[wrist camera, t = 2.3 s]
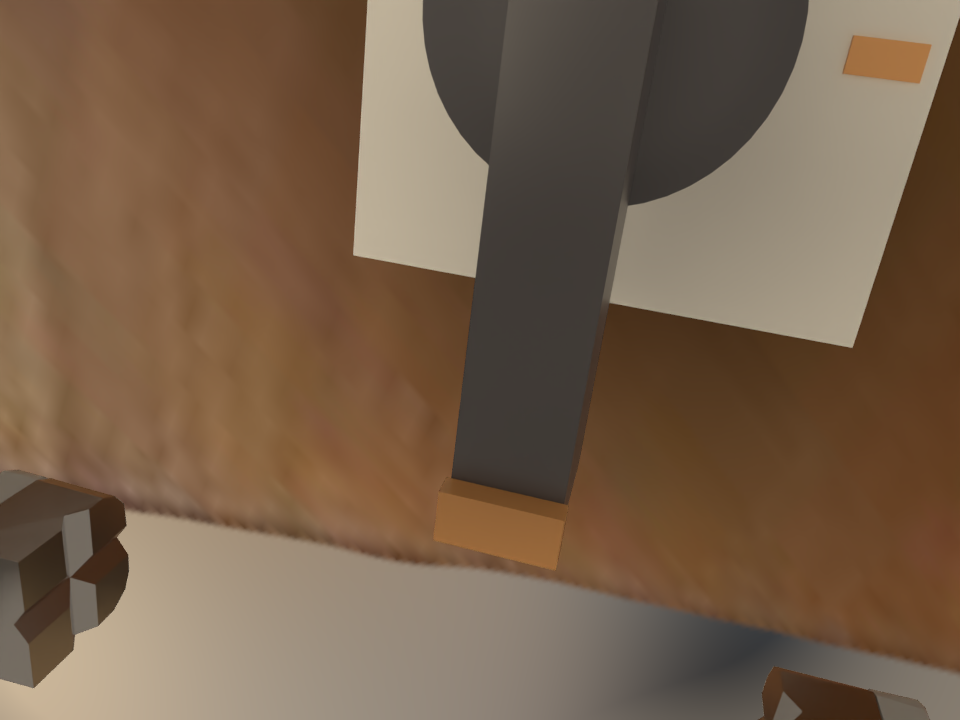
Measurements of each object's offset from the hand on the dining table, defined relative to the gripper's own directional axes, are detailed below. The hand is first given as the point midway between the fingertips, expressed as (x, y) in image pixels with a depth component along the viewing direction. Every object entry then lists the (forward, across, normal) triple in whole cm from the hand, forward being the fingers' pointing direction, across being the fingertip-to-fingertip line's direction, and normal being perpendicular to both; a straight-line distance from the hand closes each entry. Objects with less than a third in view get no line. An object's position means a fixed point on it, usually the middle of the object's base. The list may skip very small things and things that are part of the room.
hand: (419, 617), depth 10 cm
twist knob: (+13, 0, -4) cm, 13 cm away
